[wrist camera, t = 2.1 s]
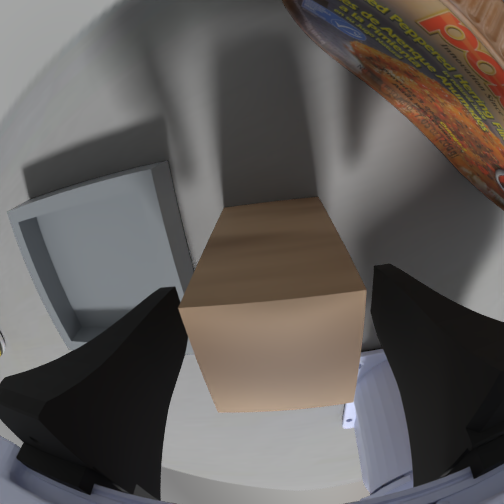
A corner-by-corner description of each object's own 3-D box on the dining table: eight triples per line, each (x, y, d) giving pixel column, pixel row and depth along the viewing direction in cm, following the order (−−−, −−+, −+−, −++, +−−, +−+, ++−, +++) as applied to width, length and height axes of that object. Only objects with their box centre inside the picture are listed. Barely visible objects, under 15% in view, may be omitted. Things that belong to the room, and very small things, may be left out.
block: (322, 278, 16) (353, 402, 8) (239, 287, 16) (218, 412, 9) (318, 196, 14) (366, 290, 7) (223, 207, 14) (178, 308, 7)
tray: (210, 328, 18) (203, 354, 16) (82, 329, 19) (68, 349, 17) (167, 160, 13) (150, 168, 11) (29, 199, 14) (6, 211, 12)
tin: (272, 23, 10) (273, -82, 3) (308, -20, 9) (342, -129, 1) (485, 207, 13) (584, 280, 6) (510, 168, 12) (613, 221, 4)
